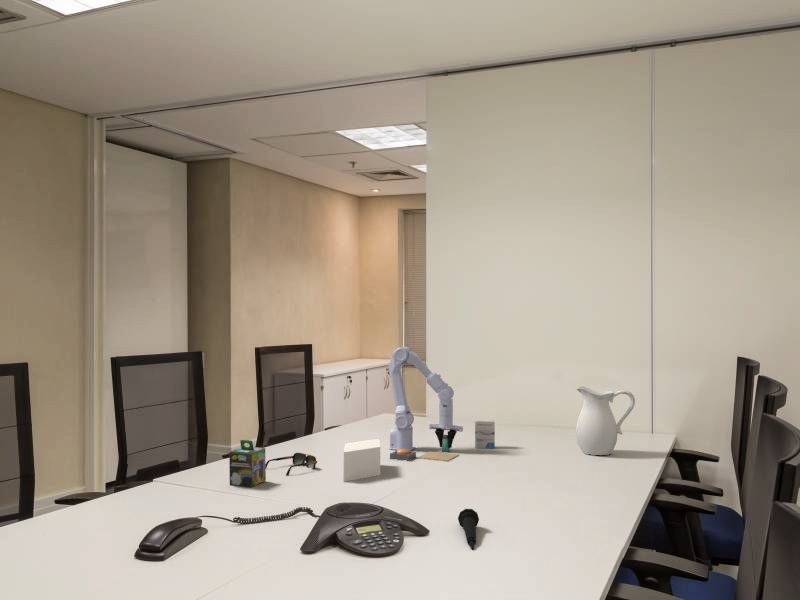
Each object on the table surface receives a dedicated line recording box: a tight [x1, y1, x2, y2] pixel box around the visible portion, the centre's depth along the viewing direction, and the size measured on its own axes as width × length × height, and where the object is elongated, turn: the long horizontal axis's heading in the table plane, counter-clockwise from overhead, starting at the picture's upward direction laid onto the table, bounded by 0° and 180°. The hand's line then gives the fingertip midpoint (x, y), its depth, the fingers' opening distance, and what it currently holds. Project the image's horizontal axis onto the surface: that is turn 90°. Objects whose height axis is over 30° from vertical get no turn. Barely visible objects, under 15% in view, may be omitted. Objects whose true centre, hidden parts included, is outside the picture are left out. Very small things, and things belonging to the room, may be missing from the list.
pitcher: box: [575, 386, 636, 456], centre depth 285 cm, size 24×17×28 cm
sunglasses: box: [265, 452, 318, 477], centre depth 251 cm, size 14×15×5 cm
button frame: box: [389, 450, 417, 462], centre depth 273 cm, size 8×8×2 cm
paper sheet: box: [417, 451, 460, 462], centre depth 276 cm, size 13×13×1 cm
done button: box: [396, 449, 409, 455], centre depth 273 cm, size 5×5×2 cm
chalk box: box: [228, 439, 267, 488], centre depth 230 cm, size 9×9×15 cm
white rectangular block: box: [342, 438, 381, 482], centre depth 247 cm, size 14×29×10 cm, turn 157°
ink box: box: [474, 419, 496, 449], centre depth 297 cm, size 8×5×12 cm, turn 84°
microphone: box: [457, 508, 480, 551], centre depth 176 cm, size 6×6×20 cm
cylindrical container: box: [441, 434, 450, 453], centre depth 287 cm, size 3×3×7 cm
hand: (445, 447), depth 287 cm, fingers closed on cylindrical container, 3 cm apart
